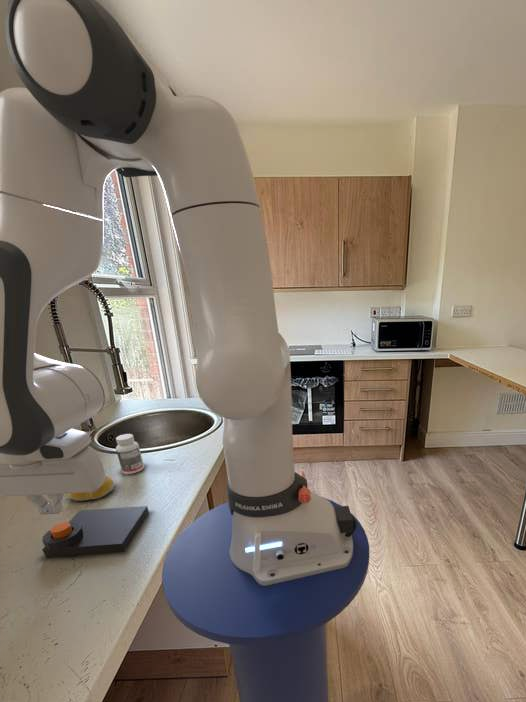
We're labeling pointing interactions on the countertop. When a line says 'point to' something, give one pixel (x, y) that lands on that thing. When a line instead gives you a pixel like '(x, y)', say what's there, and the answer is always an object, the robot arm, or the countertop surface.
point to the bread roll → (99, 493)
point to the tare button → (61, 530)
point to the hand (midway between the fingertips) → (52, 512)
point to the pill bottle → (129, 454)
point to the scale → (97, 532)
